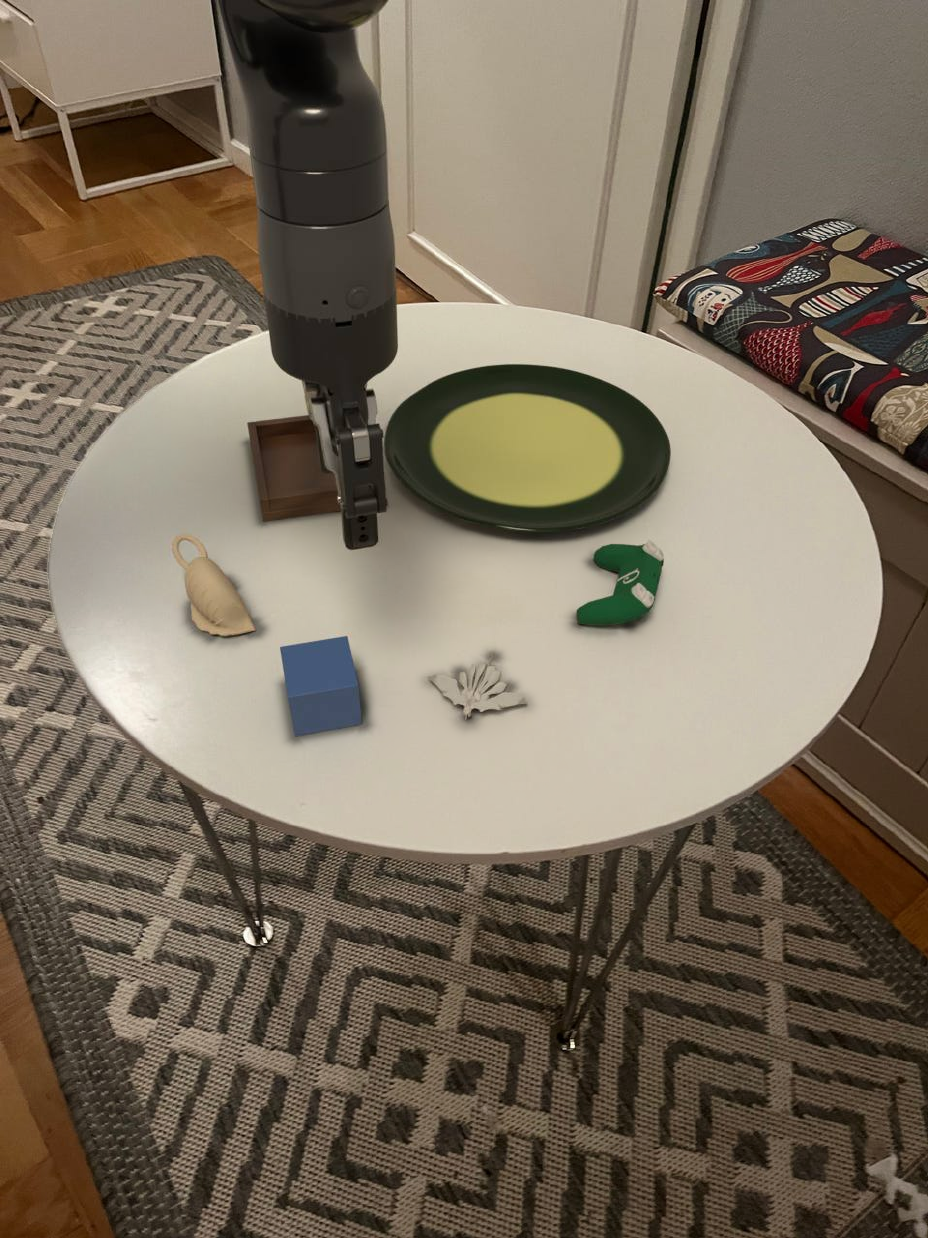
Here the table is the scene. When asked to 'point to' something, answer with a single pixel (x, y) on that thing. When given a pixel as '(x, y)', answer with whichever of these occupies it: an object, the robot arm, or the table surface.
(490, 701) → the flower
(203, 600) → the decorative ornament
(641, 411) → the plate
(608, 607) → the green christmas stocking
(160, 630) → the table surface
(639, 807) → the table surface
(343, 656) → the cube
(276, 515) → the tray
